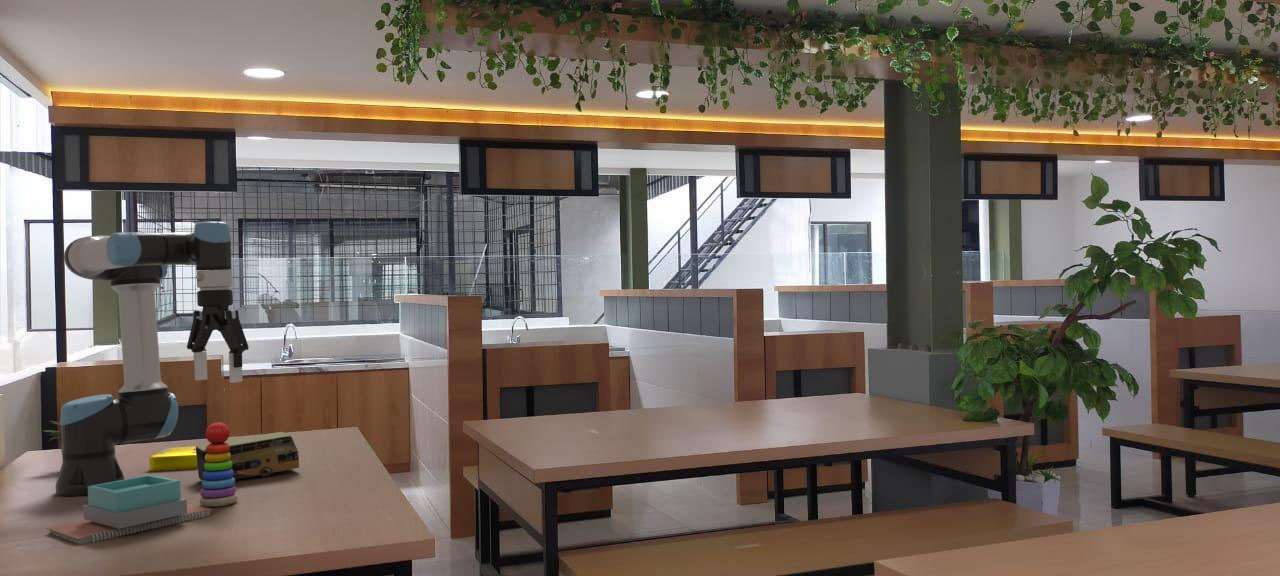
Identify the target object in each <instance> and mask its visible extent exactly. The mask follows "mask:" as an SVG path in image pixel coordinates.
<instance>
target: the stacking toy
mask: <svg viewBox="0 0 1280 576" xmlns="http://www.w3.org/2000/svg"><path fill="white" fill-rule="evenodd" d="M230 433H231V431H230V429H229V426H228V425H227V424H225V423H223V422H220V421H219V422H218V421H217V422H214V423H211V424H210V425H208V427H207V428H206V430H205V437H206V440H207V441H208V442H209V443H208V444H209V445H207V446H206V451H207V452H208V454H206V455H205V460H206V461H207V462H206V463H205V464H204V468H205V470H206V471H205V472H204V473H203V478H204V479H205V480H203V481H201V487H202V488H201V489H200V492H199V493H200V495H199V496H200V497H201V498H200V499H199V504H200V506H202V507H206V508H217V507H225V506H230V505H232V504H234V503H236V502H237V501H238V495H237V494H236V490H237V488H236V486H235V482H236V479H234V478H233V477H232V476H233V470H232V469H231V467H232V461H230V460H229V459H230V457H231V454H230V453H229V452H227V451H228V450H229V449H230V445H229V444H228V443H224V442H225V441H228V439H229V437H230V435H231V434H230ZM210 443H212V444H210Z"/></svg>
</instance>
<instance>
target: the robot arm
mask: <svg viewBox="0 0 1280 576" xmlns="http://www.w3.org/2000/svg"><path fill="white" fill-rule="evenodd" d="M231 240H232V236H231V230H230V225H229V224H228V223H227V222H226V221H225V222H224V221H201V222H200V221H199V222H196V223H195V225H194V231H193V232H132V231H131V232H130V231H122V232H121V231H120V232H113V233H111V234H110V235H97V234H96V235H87V236H83V237H79V238H77V239H75V240H73V241H71V242H70V243H68V245H67V246H66V248H65V250H64V253H63V259H64V264H65V266H66V268H67V269H68V270H69V271H70V272H71V273H73V274H74V275H76V276H78V277H80V278H83V279H85V280H86V279H87V280H93V281H110V289H112V290H113V291H115V293H117V296H118V309H119V311H118V312H119V323H120V325H119V326H120V327H119V328H120V338H121V352H122V355H121V356H122V366H123V367H122V368H123V381H124V382H123V385H122V387H120V389H119V390H118V393H117V394H118V398H114V396H113V395H112V394H110V393H105V394H104V393H103V394H97V395H91V396H86V397H81V398H76V399H73V400H70V401H68V402H66V403H64V404H63V405H62V406H61V409H60V421H59V423H60V424H59V425H61V427H60V432H61V436H60V438H62V439H61V440H62V441H61V448H62V451H61V457H62V462H61V466H60V469H59V473H58V476H57V479H56V483H55V494H56V495H57V496H61V495H62V496H63V497H65V496H66V497H68V496H69V497H72V496H73V497H75V496H88V486H92V485H98V484H103V483H108V482H114V481H119V480H124V479H125V476H124V474H123V470H122V468H121V466H120V463H119V462H118V459H117V456H116V445H121V444H126V443H134V442H139V441H142V442H143V441H148V440H150V441H152V440H156V439H160V438H165V437H167V436H170V435H171V433H173V431H174V430H175V428H176V425H177V423H178V417H179V404H178V403H179V402H178V401H177V397H176V395H175V394H174V393H172V392H170V391H169V389H168V388H169V387H168V385H166V384H165V383H164V382H163V381H162V377H161V364H160V363H161V362H160V351H159V350H160V349H159V335H158V334H159V332H158V323H157V322H158V321H157V320H158V319H157V311H156V310H157V307H156V306H157V305H156V294H155V293H156V290H157V289H158V288H159V287H161V280H162V279H165V278H166V277H167V274H168V269H169V266H176V265H177V266H182V265H184V266H195V271H196V276H195V278H196V288H198V289H200V290H197V292H196V297H197V298H196V299H197V301H196V302H197V303H196V304H197V306H198V307H201V308H202V309H196V310H194V311H193V320H192V323H191V324H192V325H191V329H190V331H189V336H188V340H187V344H186V348H187V350H191V352H192V353H193V365H194V367H193V369H194V380H195V381H203V380H208V356H207V349H206V346H207V345H208V343H209V340H210V337H211V336H212V333H213V332H214V331H215V330H217V331H218V332H220V335H221V336H222V338H223V340H224V341H225V343H226V345H227V347H228V349H229V351H228V366H229V367H228V369H229V373H228V375H229V383H230V384H231V383H239V382H240V383H241V382H243V354H244V352H245V351H247V350H249V347H250V346H249V343H248V341H247V338H246V335H245V332H244V329H243V326H242V324H241V321H240V316H239V309H230V308H229V306H232V305H233V304H234V296H233V295H234V294H233V293H234V292H233V290H232V289H231V288H232V287H233V286H234V284H233V272H232V271H233V270H232V241H231ZM62 496H61V497H62Z"/></svg>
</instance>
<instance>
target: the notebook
mask: <svg viewBox="0 0 1280 576" xmlns="http://www.w3.org/2000/svg"><path fill="white" fill-rule="evenodd" d="M211 511H213V509H212V508H211V507H204V506H202V505H196V504H193V503H188V502H187V514H183V515H178V516H174V517H170V518H165V519H161V520H156V521H152V522H148V523H143V524H139V525H134V526H130V527H125V528H121V529H117V528H113V527H110V526H106V525H103V524H99V523H95V522H92V521H88V520H85V519H83V520H77V521H72V522H68V523H63V524H59V525H58V524H57V525H54V526H50V527H49V526H48V527H46V529H47V530H49V534H50V533H52V534H55V535H58V536H60V537H59V538H61V537H63V538H62V539H64V538H66V539H69V540H72V541H75V542H76V543H75V542H74V543H75V544H78V545H84V543H85V544H89V543H92V542H93V543H95V542H99V541H103V540H105V541H106V540H107V539H108V540H110V539H111V538H112V539H114V538H118V537H122V536H126V535H127V536H128V535H133V534H136V533H140V532H141V533H142V532H143V531H144V532H145V531H147V530H148V531H150V529H151V530H153V529H157V528H158V529H159V528H161V527H162V528H164V526H165V527H168V526H171V525H173V526H174V525H175V524H178V523H179V524H180V523H181V522H182V523H184V522H188V521H191V520H192V521H195V520H198V519H201V518H202V519H204V517H209V516H211ZM194 519H195V520H194ZM52 534H51V535H52ZM55 535H54V536H55ZM58 536H57V537H58ZM66 539H65V540H66ZM69 540H68V541H69ZM72 541H71V542H72Z"/></svg>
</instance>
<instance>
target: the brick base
mask: <svg viewBox="0 0 1280 576" xmlns="http://www.w3.org/2000/svg"><path fill="white" fill-rule="evenodd" d="M181 496H182V494H181V480H179V479H173V478H169V477H164V476H159V475H153V474H146V475H141V476H137V477H131V478H130V477H129V478H126V479H125V478H124V480H119V481H114V482H108V483H103V484H98V485H92V486H88V495H87V497H88V498H87V501H88V502H87V504H82V512H83V513H82V514H83V517H82V518H83V520H88V521H92V522H95V523H99V524H103V525H106V526H110V527H113V528H117V529H121V528H125V527H130V526H134V525H139V524H143V523H148V522H152V521H156V520H161V519H165V518H170V517H174V516H178V515H183V514H187V503H188V501H187V500H188V499H186V498H182V497H181Z"/></svg>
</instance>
